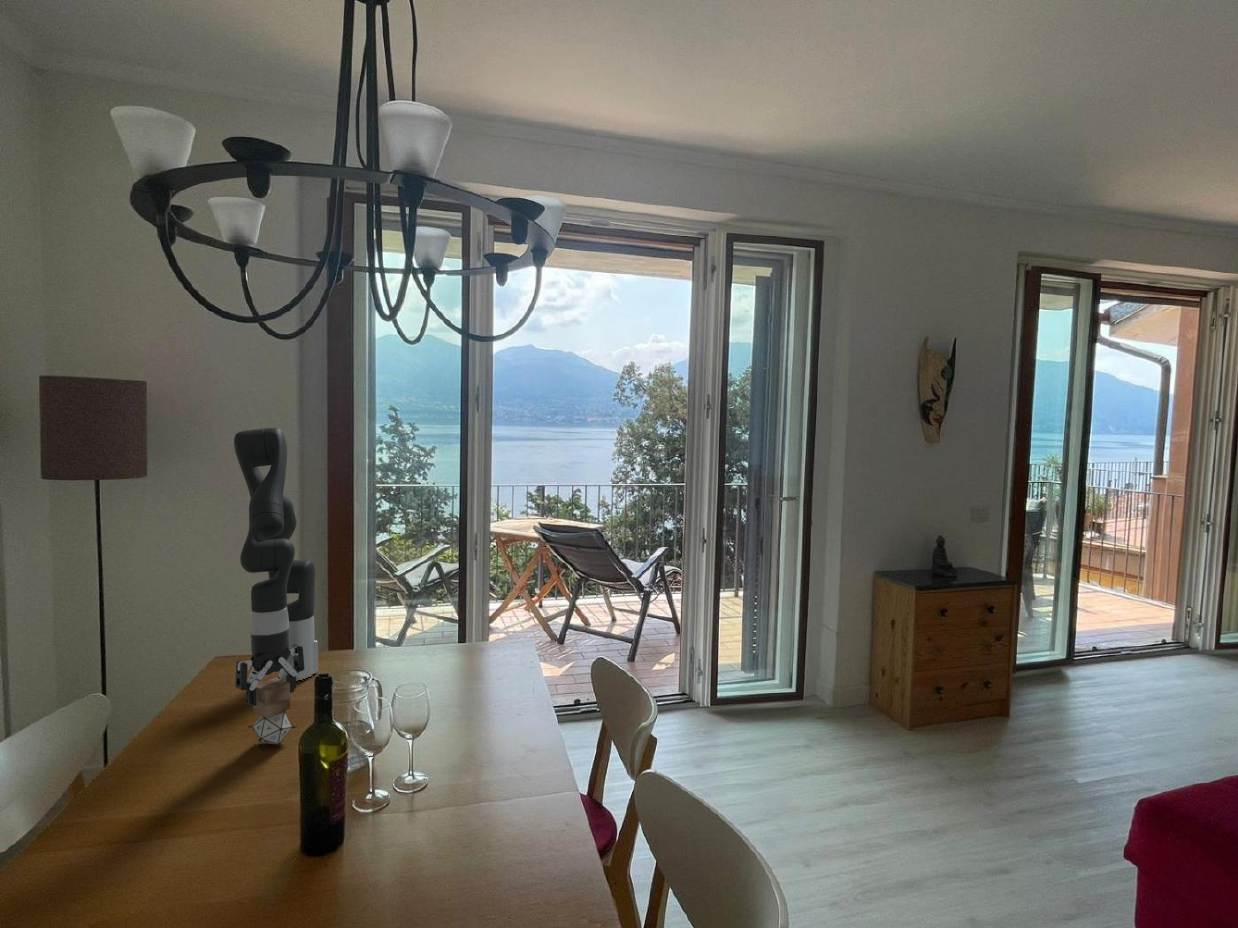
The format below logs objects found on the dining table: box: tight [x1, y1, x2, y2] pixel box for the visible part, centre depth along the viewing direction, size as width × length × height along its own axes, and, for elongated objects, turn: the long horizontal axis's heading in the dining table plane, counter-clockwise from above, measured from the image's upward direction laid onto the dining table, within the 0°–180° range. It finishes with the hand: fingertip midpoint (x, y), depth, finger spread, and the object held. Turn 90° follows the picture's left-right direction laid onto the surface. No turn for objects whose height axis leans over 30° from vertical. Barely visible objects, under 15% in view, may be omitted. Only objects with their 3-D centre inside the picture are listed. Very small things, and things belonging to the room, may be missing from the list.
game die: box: [247, 711, 297, 745], centre depth 148 cm, size 9×8×10 cm
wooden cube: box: [252, 676, 291, 718], centre depth 148 cm, size 6×6×6 cm
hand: (271, 698), depth 148 cm, fingers open, 8 cm apart
